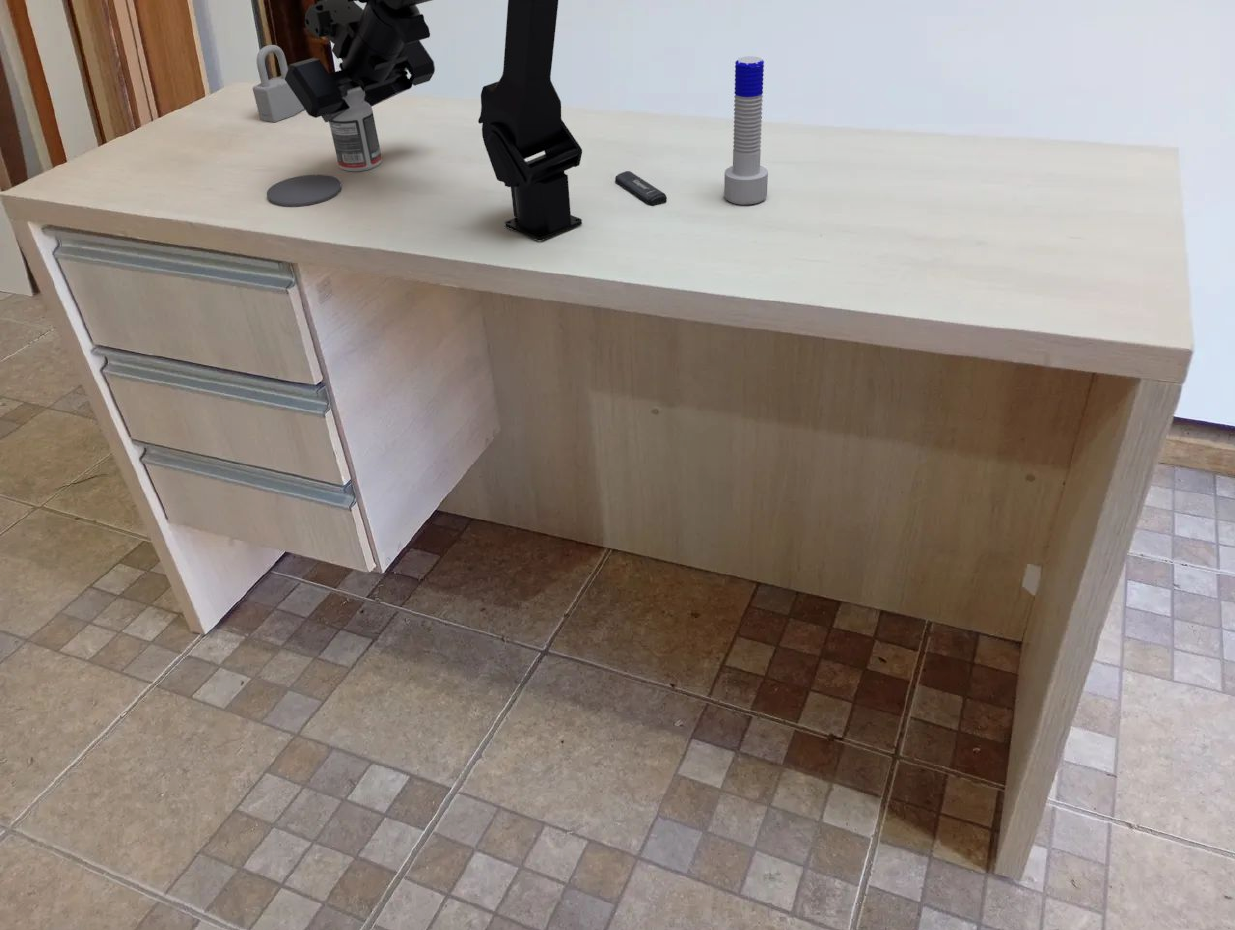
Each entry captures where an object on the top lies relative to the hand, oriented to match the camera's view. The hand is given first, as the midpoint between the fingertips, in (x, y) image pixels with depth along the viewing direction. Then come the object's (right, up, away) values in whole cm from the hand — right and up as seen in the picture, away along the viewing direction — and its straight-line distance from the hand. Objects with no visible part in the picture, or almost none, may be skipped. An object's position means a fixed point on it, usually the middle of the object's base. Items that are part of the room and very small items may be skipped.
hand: (344, 112), depth 132 cm
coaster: (-4, -11, -4) cm, 13 cm away
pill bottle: (+1, -6, +3) cm, 7 cm away
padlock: (-15, +7, +22) cm, 28 cm away
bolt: (+50, -14, -12) cm, 54 cm away
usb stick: (+38, -13, -8) cm, 41 cm away
